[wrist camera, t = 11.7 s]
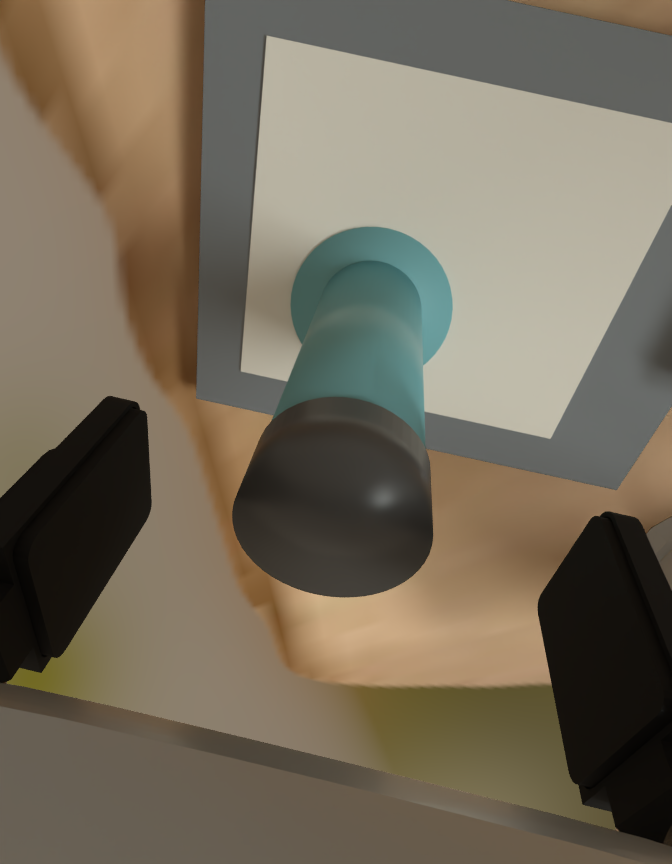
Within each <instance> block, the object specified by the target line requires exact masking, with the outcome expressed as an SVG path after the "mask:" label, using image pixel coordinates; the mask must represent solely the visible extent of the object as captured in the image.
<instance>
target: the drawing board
mask: <svg viewBox="0 0 672 864" xmlns="http://www.w3.org/2000/svg"><path fill="white" fill-rule="evenodd" d="M361 261H379V262H384V263H387V264H390V265H392V266H394V267H396V268H398V269H399V270H401V271H402V272H403V273H405V274H406V275H407V276H408V277H409V278H410V279H411V281H412V282H413V284H414V285H415V287H416V289H417V291H418V294H419V296H420V301H421V311H422V345H423V379H424V413H425V447H426V449H430V450H435V451H440V452H444V453H449V454H453V455H458V456H463V457H467V458H472V459H476V460H481V461H485V462H490V463H495V464H499V465H504V466H508V467H513V468H518V469H522V470H527V471H531V472H536V473H540V474H545V475H550V476H554V477H559V478H563V479H568V480H573V481H577V482H582V483H586V484H591V485H595V486H600V487H605V488H609V489H614V490H617V489H618V487H619V486H620V484H621V483H622V481H623V480H624V478H625V477H626V475H627V474H628V472H629V471H630V469H631V468H632V466H633V464H634V463H635V461H636V460H637V458H638V457H639V455H640V454H641V452H642V451H643V449H644V448H645V446H646V445H647V443H648V442H649V440H650V439H651V437H652V436H653V434H654V432H655V431H656V429H657V428H658V426H659V425H660V423H661V422H662V420H663V419H664V417H665V416H666V414H667V413H668V411H669V410H670V408H671V407H672V36H670V35H666V34H661V33H656V32H652V31H647V30H642V29H638V28H633V27H628V26H624V25H619V24H614V23H610V22H605V21H601V20H596V19H591V18H587V17H582V16H577V15H573V14H568V13H563V12H559V11H554V10H550V9H545V8H540V7H536V6H531V5H526V4H522V3H517V2H512V1H508V0H205V30H204V75H203V120H202V165H201V210H200V254H199V299H198V344H197V389H196V398H197V399H201V400H206V401H210V402H215V403H220V404H224V405H229V406H233V407H238V408H242V409H247V410H252V411H256V412H261V413H265V414H270V415H274V414H275V411H276V409H277V406H278V404H279V401H280V399H281V396H282V394H283V391H284V389H285V386H286V384H287V381H288V379H289V376H290V374H291V371H292V369H293V366H294V364H295V361H296V359H297V356H298V354H299V351H300V349H301V346H302V344H303V341H304V339H305V336H306V334H307V331H308V329H309V326H310V324H311V321H312V319H313V316H314V314H315V311H316V309H317V306H318V304H319V301H320V299H321V296H322V294H323V291H324V289H325V287H326V285H327V283H328V282H329V281H330V279H331V278H332V277H333V276H334V275H335V274H336V273H337V272H339V271H340V270H341V269H343V268H345V267H346V266H348V265H351V264H353V263H357V262H361Z"/></svg>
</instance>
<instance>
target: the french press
mask: <svg viewBox="0 0 672 864" xmlns="http://www.w3.org/2000/svg"><path fill="white" fill-rule="evenodd" d="M646 535H647V537H648V539H649V542H650V544H651V546H652V548H653V550H654V553H655V555H656V557H657V559H658V561H659V564H660V566H661V568H662V570H663V572H664V574H665V577H666V579H667V581H668V583H669V585H670V588H671V590H672V517H670V518H668V519H666V520H665V521H663V522H661V523H659V524H658V525H656V526H654V527H652V528H651V529H650V530H649V531H648V533H647V534H646Z"/></svg>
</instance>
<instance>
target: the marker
mask: <svg viewBox="0 0 672 864" xmlns="http://www.w3.org/2000/svg"><path fill="white" fill-rule="evenodd" d="M232 518H233V526H234V531H235V533H236V536H237V539H238V541H239V543H240V545H241V546H242V548H243V549H244V551H245V552H246V554H247V555H248V556H249V557H250V558H251V559H252V561H253V562H254V563H255V564H256V565H258V566H259V567H260V568H261V569H262V570H263V571H265V572H266V573H268V574H269V575H271V576H272V577H274V578H275V579H277V580H279V581H281V582H282V583H285V584H287V585H289V586H291V587H294V588H296V589H299V590H302V591H305V592H309V593H313V594H317V595H323V596H331V597H360V596H367V595H373V594H377V593H380V592H384V591H386V590H389V589H391V588H394V587H396V586H398V585H400V584H402V583H403V582H405V581H406V580H408V579H409V578H410V577H412V576H413V575H414V574H415V573H416V572H417V571H418V570H419V569H420V568H421V566H422V565H423V564H424V562H425V561H426V559H427V557H428V555H429V553H430V550H431V546H432V541H433V520H432V495H431V471H430V461H429V457H428V454H427V451H426V447H425V413H424V379H423V345H422V311H421V301H420V296H419V294H418V291H417V289H416V287H415V285H414V284H413V282H412V281H411V279H410V278H409V277H408V276H407V275H406V274H405V273H403V272H402V271H401V270H399V269H398V268H396V267H394V266H392V265H390V264H387V263H384V262H379V261H361V262H357V263H353V264H351V265H348V266H346V267H345V268H343V269H341V270H340V271H339V272H337V273H336V274H335V275H334V276H333V277H332V278H331V279H330V281H329V282H328V283H327V285H326V287H325V289H324V291H323V294H322V296H321V299H320V301H319V304H318V306H317V309H316V311H315V314H314V316H313V319H312V321H311V324H310V326H309V329H308V331H307V334H306V336H305V339H304V341H303V344H302V346H301V349H300V351H299V354H298V356H297V359H296V361H295V364H294V366H293V369H292V371H291V374H290V376H289V379H288V381H287V384H286V386H285V389H284V391H283V394H282V396H281V399H280V401H279V404H278V406H277V409H276V411H275V414H274V416H273V419H272V421H271V422H270V424H269V425H268V426H267V427H266V428H265V430H264V432H263V434H262V435H261V437H260V440H259V442H258V445H257V447H256V449H255V452H254V454H253V457H252V459H251V462H250V464H249V466H248V469H247V471H246V474H245V476H244V478H243V481H242V483H241V486H240V488H239V491H238V493H237V496H236V498H235V501H234V505H233V511H232Z"/></svg>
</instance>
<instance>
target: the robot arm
mask: <svg viewBox="0 0 672 864" xmlns="http://www.w3.org/2000/svg"><path fill="white" fill-rule="evenodd" d="M150 510H151V483H150V464H149V445H148V425H147V414H146V412H145V411H142V410H140V407H139V405H138V403H137V402H134V401H130V400H126V399H121V398H116V397H113V396H108V397H106V398H105V399H103V400H102V401H101V402H100V404H99V405H98V406H97V407H96V408H95V409H94V410H93V411H92V412H91V413H90V414H89V415H88V416H87V417H86V418H85V419H84V420H83V421H82V422H81V423H80V424H79V425H78V426H77V427H76V428H75V429H74V430H73V431H72V432H71V433H70V434H69V435H68V436H67V437H66V438H65V439H64V440H63V441H62V442H61V444H60V445H58V446H57V447H56V448H55V449H52V450H49V451H48V452H46V453H45V454H44V455H43V456H42V457H41V458H40V459H39V460H38V461H37V462H36V463H35V464H34V465H33V466H32V467H31V468H30V469H29V470H28V471H27V472H26V473H25V474H24V475H23V476H22V477H21V478H20V479H19V480H18V481H17V482H16V483H15V484H14V485H13V486H12V487H11V488H10V489H9V490H8V491H7V492H6V493H5V494H4V495H3V496H2V497H1V498H0V864H672V590H671V588H670V585H669V583H668V581H667V579H666V577H665V574H664V572H663V570H662V568H661V566H660V564H659V561H658V559H657V557H656V555H655V553H654V550H653V548H652V546H651V544H650V542H649V539H648V537H647V535H646V533H645V531H644V528H643V526H642V524H641V522H640V521H639V520H638V519H637V518H635V517H631V516H626V515H622V514H618V513H613V512H604V513H602V514H601V516H600V517H599V516H594V517H592V518H591V520H590V521H589V522H588V524H587V525H586V527H585V529H584V530H583V532H582V533H581V535H580V536H579V538H578V539H577V541H576V542H575V544H574V545H573V547H572V548H571V550H570V551H569V553H568V554H567V556H566V557H565V559H564V560H563V562H562V563H561V565H560V566H559V568H558V569H557V571H556V572H555V574H554V575H553V577H552V578H551V580H550V581H549V583H548V585H547V586H546V588H545V589H544V591H543V592H542V594H541V595H540V598H539V601H538V616H539V621H540V626H541V631H542V636H543V641H544V647H545V652H546V657H547V662H548V667H549V672H550V678H551V683H552V688H553V693H554V698H555V703H556V709H557V714H558V718H559V724H560V729H561V734H562V739H563V745H564V750H565V755H566V760H567V765H568V770H569V774H570V777H571V779H572V781H573V782H574V783H575V784H578V785H579V789H580V794H581V799H582V804H583V805H586V806H590V807H594V808H599V809H603V810H607V811H611V812H612V815H613V818H614V822H615V827H616V829H615V830H612V829H608V828H604V827H600V826H597V825H593V824H589V823H586V822H581V821H578V820H574V819H570V818H567V817H563V816H559V815H556V814H552V813H548V812H543V811H539V810H536V809H532V808H527V807H523V806H519V805H516V804H512V803H508V802H504V801H500V800H495V799H491V798H488V797H483V796H480V795H476V794H472V793H467V792H464V791H459V790H456V789H451V788H447V787H443V786H439V785H435V784H431V783H427V782H423V781H419V780H415V779H411V778H407V777H403V776H399V775H395V774H390V773H387V772H383V771H379V770H374V769H370V768H366V767H362V766H358V765H354V764H350V763H346V762H342V761H338V760H334V759H330V758H325V757H321V756H317V755H313V754H309V753H305V752H301V751H296V750H293V749H288V748H284V747H280V746H276V745H272V744H268V743H264V742H260V741H255V740H252V739H247V738H243V737H238V736H235V735H231V734H226V733H222V732H218V731H214V730H210V729H205V728H201V727H197V726H193V725H189V724H185V723H180V722H176V721H172V720H168V719H164V718H159V717H155V716H150V715H147V714H143V713H138V712H134V711H130V710H126V709H122V708H117V707H113V706H109V705H104V704H100V703H95V702H91V701H86V700H81V699H77V698H73V697H68V696H63V695H58V694H54V693H50V692H45V691H41V690H36V689H31V688H27V687H22V686H16V685H10V684H7V683H6V682H7V681H9V680H11V679H12V678H13V676H14V674H15V673H16V672H17V670H18V669H19V668H24V669H27V670H32V671H36V672H40V673H42V671H43V670H44V668H45V667H46V665H47V663H48V662H49V660H50V659H51V657H55V658H58V657H60V656H61V655H62V654H63V653H64V651H65V650H66V648H67V647H68V645H69V643H70V642H71V640H72V639H73V637H74V635H75V634H76V632H77V631H78V629H79V627H80V626H81V624H82V623H83V621H84V619H85V618H86V616H87V615H88V613H89V611H90V610H91V608H92V606H93V605H94V604H95V602H96V600H97V599H98V597H99V596H100V594H101V592H102V591H103V589H104V587H105V586H106V584H107V583H108V581H109V579H110V578H111V576H112V575H113V573H114V572H115V570H116V568H117V567H118V565H119V564H120V562H121V560H122V559H123V557H124V556H125V554H126V552H127V551H128V549H129V548H130V546H131V544H132V543H133V541H134V540H135V538H136V536H137V535H138V533H139V532H140V530H141V528H142V527H143V525H144V523H145V522H146V520H147V518H148V516H149V513H150Z"/></svg>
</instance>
